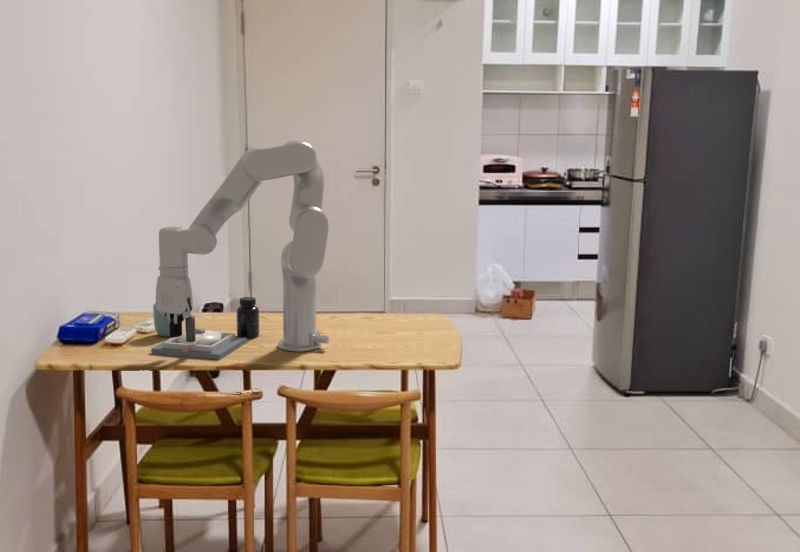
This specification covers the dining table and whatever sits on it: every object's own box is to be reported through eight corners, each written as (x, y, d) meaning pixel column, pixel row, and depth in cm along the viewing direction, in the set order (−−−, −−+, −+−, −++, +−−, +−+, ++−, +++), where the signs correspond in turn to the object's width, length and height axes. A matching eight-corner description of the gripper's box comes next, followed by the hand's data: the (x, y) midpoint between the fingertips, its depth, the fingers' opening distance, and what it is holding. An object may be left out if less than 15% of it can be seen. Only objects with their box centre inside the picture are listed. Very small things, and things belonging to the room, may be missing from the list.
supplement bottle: (232, 337, 240) (231, 299, 237) (246, 332, 246) (245, 295, 243) (250, 340, 237) (249, 301, 234) (263, 335, 242) (263, 297, 240)
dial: (185, 336, 233) (184, 303, 231) (225, 337, 233) (224, 304, 231) (168, 351, 217) (167, 317, 215) (211, 353, 217) (210, 318, 215)
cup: (184, 332, 244) (183, 301, 242) (175, 339, 236) (173, 307, 234) (160, 331, 245) (159, 300, 243) (150, 337, 237) (149, 305, 235)
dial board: (246, 342, 234) (246, 333, 233) (219, 359, 217) (219, 349, 216) (182, 337, 238) (182, 327, 238) (151, 353, 221) (151, 343, 220)
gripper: (144, 271, 215) (146, 335, 219) (184, 277, 208) (186, 343, 212) (164, 267, 222) (166, 329, 225) (204, 272, 215) (205, 337, 218)
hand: (176, 336), depth 219 cm, fingers closed
